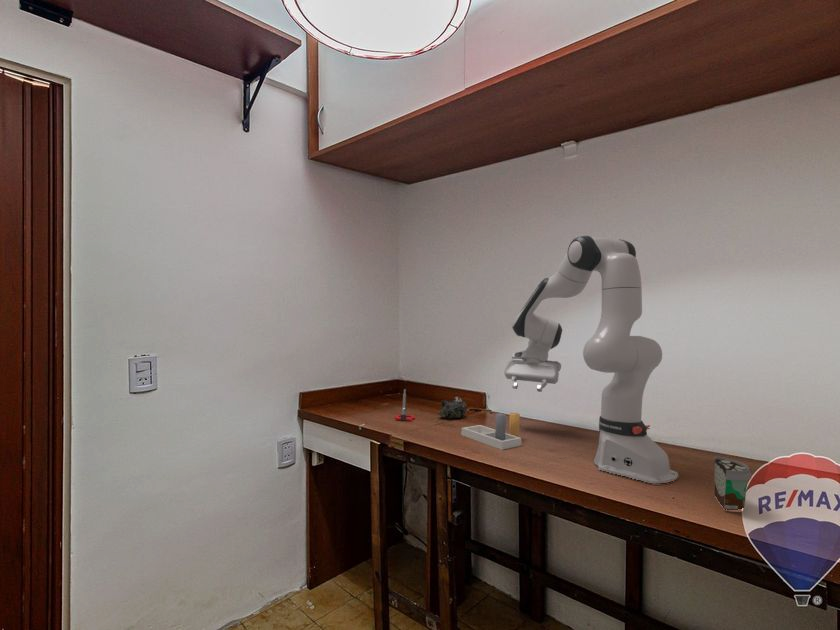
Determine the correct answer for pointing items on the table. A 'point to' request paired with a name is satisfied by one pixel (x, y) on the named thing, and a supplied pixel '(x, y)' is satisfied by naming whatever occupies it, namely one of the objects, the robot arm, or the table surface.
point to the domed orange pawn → (514, 424)
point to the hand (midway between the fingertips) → (526, 389)
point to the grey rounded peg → (500, 426)
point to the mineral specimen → (453, 408)
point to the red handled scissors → (404, 411)
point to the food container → (730, 482)
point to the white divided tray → (490, 437)
